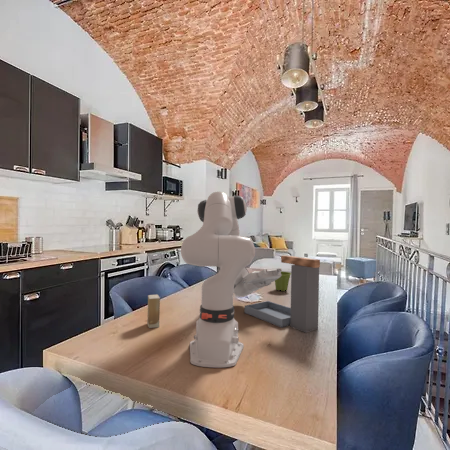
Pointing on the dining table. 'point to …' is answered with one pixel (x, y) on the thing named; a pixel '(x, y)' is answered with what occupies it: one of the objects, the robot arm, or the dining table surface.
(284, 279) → the plant pot
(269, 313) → the tray
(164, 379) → the dining table surface
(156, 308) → the skincare box
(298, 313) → the post
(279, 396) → the dining table surface
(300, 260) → the rectangular block
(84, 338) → the dining table surface
